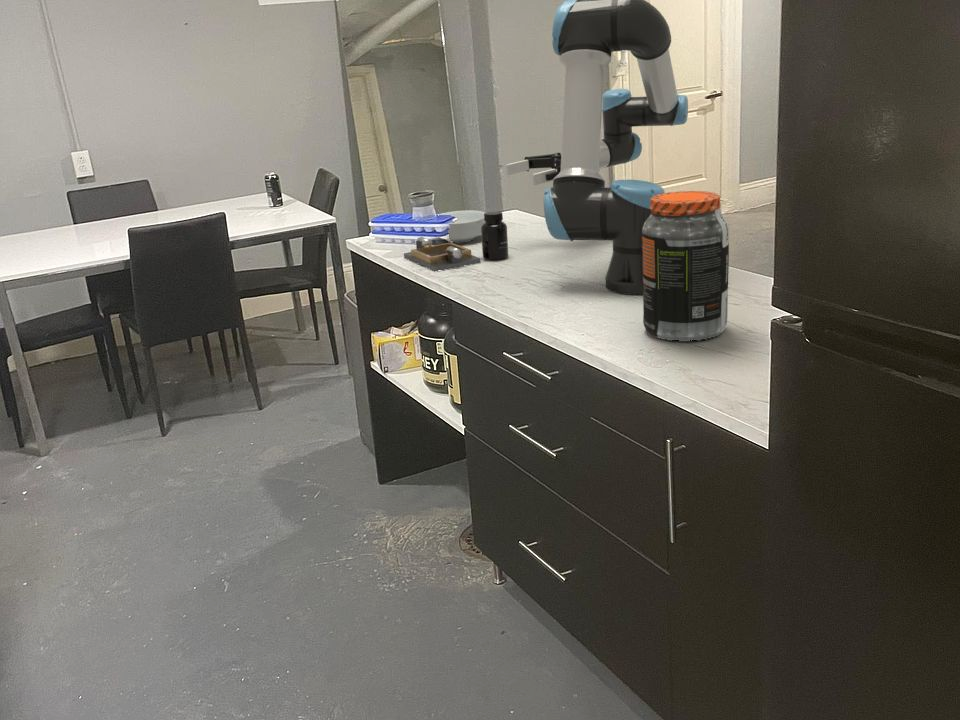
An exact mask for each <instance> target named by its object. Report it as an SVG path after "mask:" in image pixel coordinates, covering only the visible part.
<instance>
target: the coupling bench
mask: <svg viewBox="0 0 960 720" xmlns="http://www.w3.org/2000/svg"><path fill="white" fill-rule="evenodd" d="M415 247H416V248H414V249H411V250H410V251H409V252H404V253H403V257H404V259H405V260H406V259H407V260H408V259H409V260H408V261H410V262H413V263H415V264H417V263H418V265H420V266H422V267H424V268H426V267H427V269H428V268H430V269H429V270H431V269H432V270H431V271H433V270H434V271H433V272H435V271H437V272H439V271H438V270H442V271H444V270H443V269H447V270H449V269H448V268H452V269H456V268H455V267H457V268H460V267H459V266H462V267H465V266H464V265H467V266H471V265H470V264H472V265H476V264H475V263H477V264H480V263H482V260H481V258H480V257H478V256H475V255H473V254H472V249H470V248H467V247H464V246H461V245H459V244H458V243H451V242H450V243H449V242H446V243H441V244H436V245H435V244H434V245H433V242H432V240H431V239H429V238H427V237H424V236H420V237H418V238H417V240H416V241H415Z"/></svg>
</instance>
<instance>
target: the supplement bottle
mask: <svg viewBox="0 0 960 720" xmlns="http://www.w3.org/2000/svg"><path fill="white" fill-rule="evenodd" d="M503 220H504V218H503V212H502V211H489V212H488V211H487V212H485V213H484V221H485V223H484V224H483V225H482V226H481V249H482V251H481V252H482V258H483V260H485V261H489V262H491V261H492V262H493V261H502V260H506V259H508V257H509V241H508V240H509V239H508V226H507V224H506V223H505V222H504V221H503Z"/></svg>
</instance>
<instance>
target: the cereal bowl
mask: <svg viewBox="0 0 960 720" xmlns="http://www.w3.org/2000/svg"><path fill="white" fill-rule="evenodd" d="M484 213H486V212H485V211H481V210H472V209H471V210H469V209H468V210H456V211H455V210H454V211H447V212H442V213H438V214H436V215H438V216H439V215H451V216H454V217H456V218H457V221H456V223H448V224H449V225H450V228H449V230H448V233H449V239H450V240H451V241H453V242H465V243H468V242H467V241H469V242H472V241H474V239H475V238H477V237H479V236H480V235H481V226H482V225H483V224H484V223H485V221H484ZM471 240H472V241H471Z"/></svg>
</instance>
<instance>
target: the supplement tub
mask: <svg viewBox="0 0 960 720" xmlns="http://www.w3.org/2000/svg"><path fill="white" fill-rule="evenodd" d="M720 196H721V195H720V194H718V193H716V192H712V191H702V190H684V191H683V190H681V191H670V192H665V193H663V194H659V195H655V196H653V197H652V198H651V206H650V209H651V212H652V213H651V215H650V216H649V217H648V218H647V220H646V221H645V223H644V225H643V229H642V252H643V294H642V299H643V302H642V303H643V306H642V307H643V315H642V316H643V320H642V323H643V326H644V328H645V330H646V331H647V333H649V334H650V335H651V336H652V337H655V338H657V339H660V338H661V340H665V339H667V340H666V341H672V340H679V341H678V342H693V341H692V340H697V341H702V340H701V339H705V340H707V339H706V338H710V337H713V338H715V337H714V336H716V335H717V336H719V335H720V333H721V334H722V333H723V332H724V331H725V329H726V328H727V325H728V314H729V312H728V311H729V310H728V309H729V308H728V305H729V269H730V267H729V265H730V264H729V262H730V261H729V258H730V227H729V223H728V220H727V219H726V217H725V216H724V214H723V212H722V209H721V197H720ZM717 336H716V337H717ZM710 339H711V338H710ZM690 340H691V341H690Z"/></svg>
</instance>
